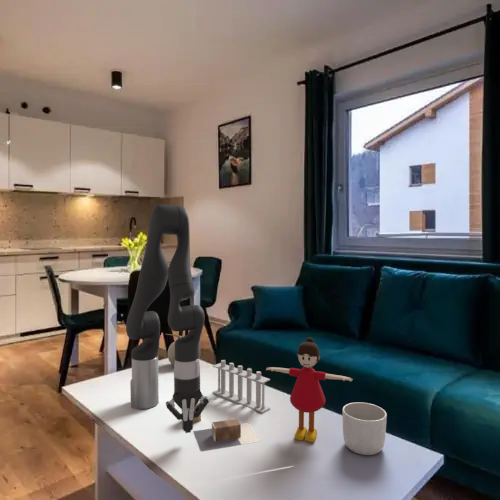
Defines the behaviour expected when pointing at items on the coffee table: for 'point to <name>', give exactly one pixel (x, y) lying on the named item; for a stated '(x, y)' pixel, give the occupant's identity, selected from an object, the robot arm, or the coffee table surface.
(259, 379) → the test tube rack
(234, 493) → the coffee table surface
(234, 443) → the mat
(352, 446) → the planter
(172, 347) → the fruit
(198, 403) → the oak block
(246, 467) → the coffee table surface
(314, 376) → the toy
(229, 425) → the walnut block
